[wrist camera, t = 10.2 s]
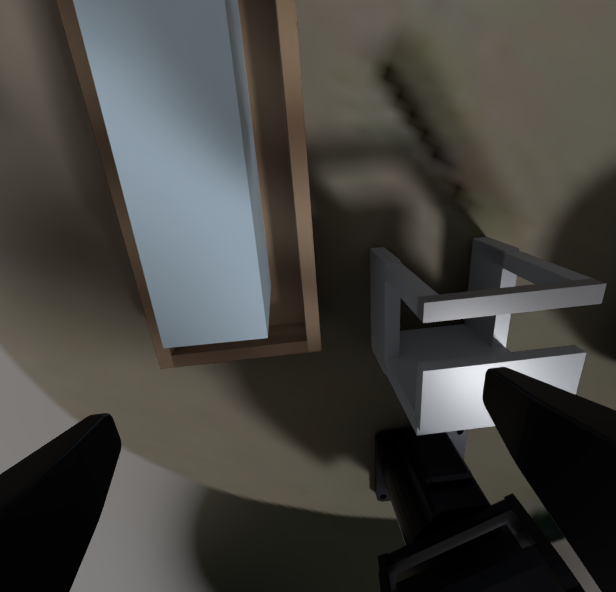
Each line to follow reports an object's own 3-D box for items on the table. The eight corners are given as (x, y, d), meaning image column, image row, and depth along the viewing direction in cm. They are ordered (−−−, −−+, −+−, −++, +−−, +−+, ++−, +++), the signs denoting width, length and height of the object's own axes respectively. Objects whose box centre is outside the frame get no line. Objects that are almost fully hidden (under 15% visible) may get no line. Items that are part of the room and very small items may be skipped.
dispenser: (475, 336, 22) (570, 421, 15) (371, 348, 22) (417, 441, 15) (486, 236, 20) (607, 281, 12) (369, 248, 19) (424, 300, 12)
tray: (315, 325, 21) (321, 351, 18) (176, 340, 21) (160, 368, 18) (279, -129, 13) (280, -205, 11) (60, -119, 13) (1, -195, 10)
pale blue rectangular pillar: (270, 285, 19) (267, 337, 13) (197, 292, 19) (163, 348, 13) (232, -43, 14) (201, -184, 8) (130, -39, 13) (26, -179, 8)
